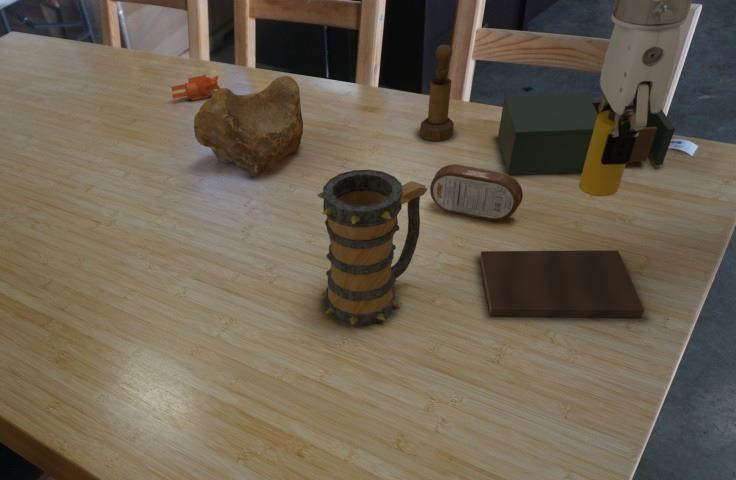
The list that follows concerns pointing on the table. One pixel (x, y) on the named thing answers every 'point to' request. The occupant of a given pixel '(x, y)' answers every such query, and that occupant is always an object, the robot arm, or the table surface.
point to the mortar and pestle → (439, 101)
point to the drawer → (651, 137)
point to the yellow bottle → (594, 173)
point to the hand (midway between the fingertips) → (609, 151)
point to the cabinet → (546, 133)
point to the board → (559, 284)
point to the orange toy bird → (197, 87)
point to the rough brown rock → (252, 125)
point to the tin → (476, 192)
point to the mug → (366, 242)
